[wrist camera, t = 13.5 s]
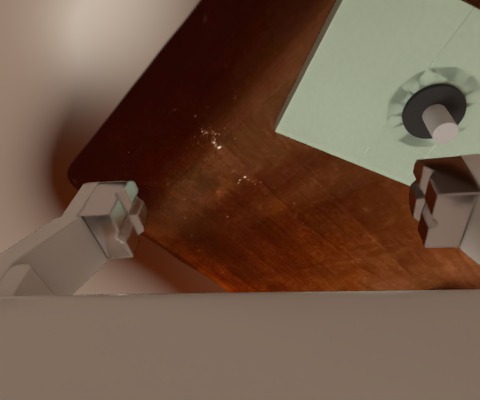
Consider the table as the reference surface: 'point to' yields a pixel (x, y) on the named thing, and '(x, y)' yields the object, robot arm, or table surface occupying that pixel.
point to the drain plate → (385, 81)
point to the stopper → (435, 113)
